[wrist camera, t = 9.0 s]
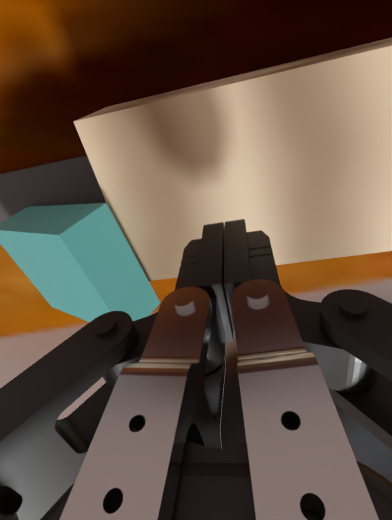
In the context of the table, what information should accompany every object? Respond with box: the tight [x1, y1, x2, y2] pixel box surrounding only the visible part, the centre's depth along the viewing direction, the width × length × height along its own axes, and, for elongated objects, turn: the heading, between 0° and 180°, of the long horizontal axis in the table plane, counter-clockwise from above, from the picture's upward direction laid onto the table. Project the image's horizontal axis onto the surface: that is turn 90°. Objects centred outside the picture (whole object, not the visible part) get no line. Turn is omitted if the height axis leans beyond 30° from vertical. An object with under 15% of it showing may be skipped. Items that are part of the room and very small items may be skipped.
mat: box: [0, 155, 107, 222], centre depth 18 cm, size 9×8×1 cm
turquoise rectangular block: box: [0, 203, 160, 322], centre depth 16 cm, size 8×6×2 cm
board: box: [73, 38, 392, 281], centre depth 14 cm, size 18×8×4 cm, turn 102°
